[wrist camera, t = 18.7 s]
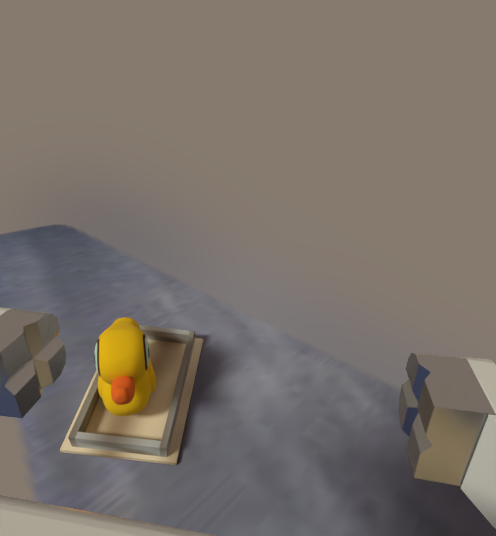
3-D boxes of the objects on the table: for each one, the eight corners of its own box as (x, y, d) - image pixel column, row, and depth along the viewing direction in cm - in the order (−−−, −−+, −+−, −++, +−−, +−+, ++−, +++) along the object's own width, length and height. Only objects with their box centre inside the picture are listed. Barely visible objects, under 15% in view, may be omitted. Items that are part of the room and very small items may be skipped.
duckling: (160, 446, 36) (157, 381, 29) (98, 457, 34) (81, 391, 28) (153, 348, 44) (150, 282, 38) (103, 354, 43) (90, 286, 36)
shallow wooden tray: (203, 341, 46) (203, 329, 45) (176, 464, 35) (175, 454, 33) (115, 331, 46) (113, 319, 45) (60, 451, 35) (55, 440, 34)
